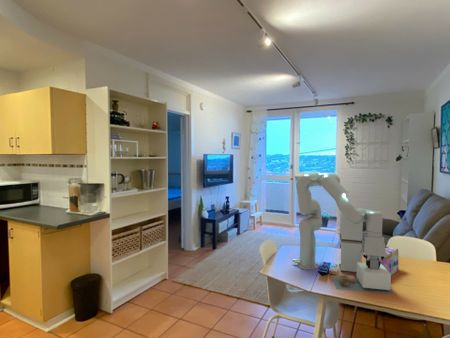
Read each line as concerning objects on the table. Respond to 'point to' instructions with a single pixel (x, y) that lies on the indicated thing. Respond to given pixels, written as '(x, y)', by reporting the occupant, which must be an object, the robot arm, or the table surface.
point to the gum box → (390, 260)
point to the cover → (373, 275)
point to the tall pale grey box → (350, 245)
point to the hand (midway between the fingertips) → (373, 267)
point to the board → (358, 286)
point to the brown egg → (351, 278)
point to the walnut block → (344, 281)
